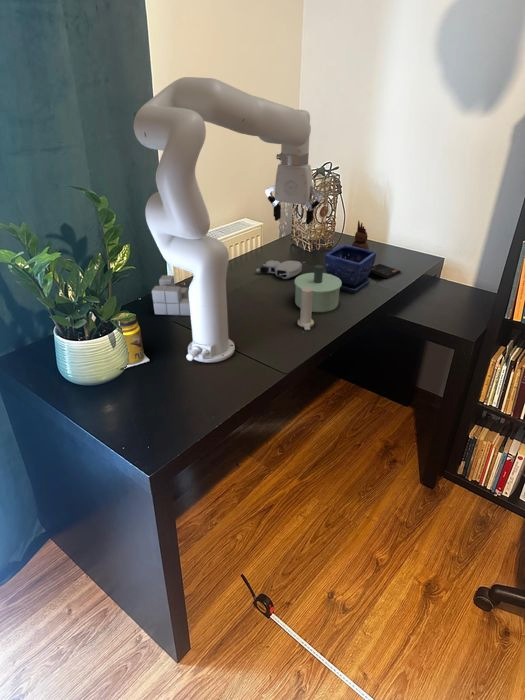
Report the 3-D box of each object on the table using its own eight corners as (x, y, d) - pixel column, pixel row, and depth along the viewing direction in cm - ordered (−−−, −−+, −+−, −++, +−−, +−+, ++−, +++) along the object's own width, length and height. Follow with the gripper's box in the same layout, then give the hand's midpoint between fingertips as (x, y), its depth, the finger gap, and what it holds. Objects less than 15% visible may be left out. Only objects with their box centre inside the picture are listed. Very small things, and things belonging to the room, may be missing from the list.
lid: (334, 298, 146) (335, 278, 143) (287, 290, 151) (288, 271, 148) (346, 279, 158) (348, 261, 155) (302, 273, 163) (303, 255, 159)
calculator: (400, 273, 179) (401, 265, 177) (380, 281, 172) (381, 273, 170) (379, 265, 185) (380, 258, 183) (359, 274, 178) (360, 266, 177)
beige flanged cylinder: (315, 332, 142) (318, 295, 136) (299, 332, 142) (300, 296, 136) (311, 317, 150) (313, 282, 144) (295, 317, 149) (296, 282, 143)
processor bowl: (331, 316, 150) (333, 295, 146) (289, 309, 155) (289, 288, 151) (343, 298, 161) (344, 278, 157) (302, 292, 165) (303, 272, 162)
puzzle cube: (193, 315, 151) (190, 292, 147) (154, 314, 152) (151, 290, 148) (200, 298, 161) (199, 276, 157) (164, 297, 162) (162, 275, 158)
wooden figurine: (347, 258, 191) (351, 219, 184) (361, 256, 193) (365, 218, 185) (355, 264, 186) (359, 225, 178) (369, 262, 187) (374, 223, 180)
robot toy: (254, 278, 177) (291, 284, 170) (253, 266, 175) (290, 271, 168) (271, 267, 186) (307, 272, 179) (270, 255, 184) (307, 260, 177)
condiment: (149, 360, 129) (144, 320, 123) (118, 370, 125) (110, 329, 119) (139, 348, 135) (133, 309, 128) (109, 358, 131) (101, 317, 124)
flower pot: (374, 284, 170) (378, 251, 164) (356, 297, 161) (359, 263, 155) (340, 275, 177) (343, 243, 171) (321, 287, 168) (323, 254, 162)
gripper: (260, 160, 136) (260, 221, 145) (321, 164, 130) (317, 228, 139) (270, 155, 142) (270, 214, 151) (328, 159, 136) (325, 220, 145)
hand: (293, 221), depth 145 cm, fingers open, 9 cm apart
